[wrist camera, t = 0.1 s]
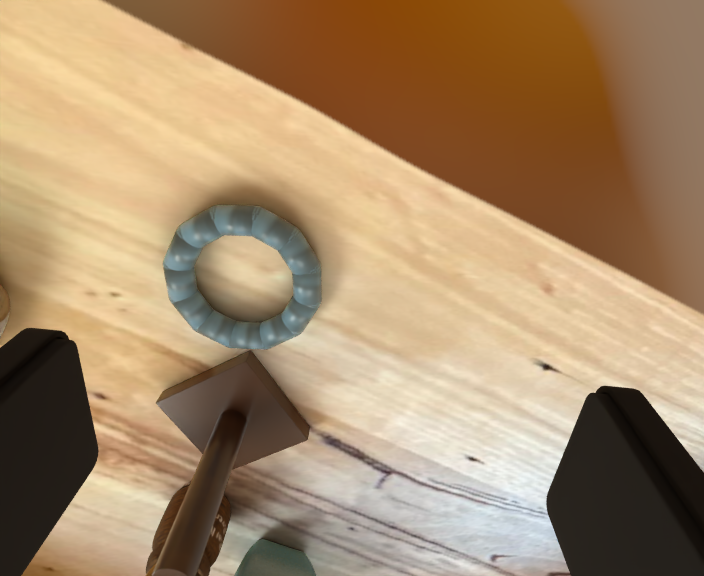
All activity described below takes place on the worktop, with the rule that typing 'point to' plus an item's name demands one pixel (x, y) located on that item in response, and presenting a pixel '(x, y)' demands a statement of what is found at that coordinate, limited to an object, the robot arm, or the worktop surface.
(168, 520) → the utensil holder
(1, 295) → the ceramic mug
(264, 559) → the flower pot
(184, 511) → the peg stand
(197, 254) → the ring
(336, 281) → the worktop surface
